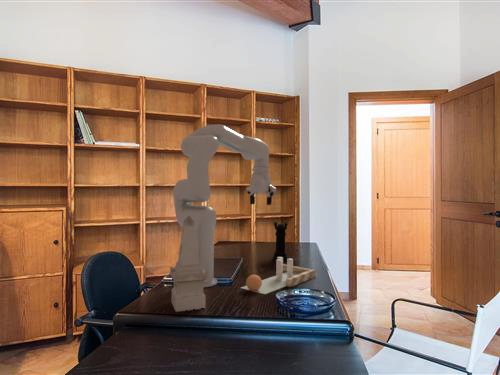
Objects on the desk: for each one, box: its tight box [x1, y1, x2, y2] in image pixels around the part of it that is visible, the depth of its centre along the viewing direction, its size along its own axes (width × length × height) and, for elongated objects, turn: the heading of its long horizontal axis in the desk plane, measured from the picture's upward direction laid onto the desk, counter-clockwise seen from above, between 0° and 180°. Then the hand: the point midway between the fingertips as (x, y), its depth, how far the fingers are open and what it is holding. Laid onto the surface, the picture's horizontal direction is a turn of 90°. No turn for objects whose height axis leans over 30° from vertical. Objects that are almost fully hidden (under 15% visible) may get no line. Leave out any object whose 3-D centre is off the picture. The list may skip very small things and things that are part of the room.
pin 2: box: [286, 258, 294, 278], centre depth 149 cm, size 2×2×9 cm
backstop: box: [283, 263, 317, 288], centre depth 153 cm, size 21×18×3 cm
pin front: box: [275, 259, 282, 282], centre depth 147 cm, size 2×2×9 cm
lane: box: [240, 272, 298, 295], centre depth 147 cm, size 34×12×1 cm, turn 141°
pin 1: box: [277, 257, 284, 278], centre depth 152 cm, size 2×2×9 cm
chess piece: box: [272, 221, 289, 262], centre depth 190 cm, size 8×8×20 cm
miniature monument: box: [169, 216, 207, 312], centre depth 117 cm, size 10×10×30 cm
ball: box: [245, 274, 263, 292], centre depth 134 cm, size 6×6×6 cm
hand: (260, 204), depth 178 cm, fingers open, 9 cm apart
